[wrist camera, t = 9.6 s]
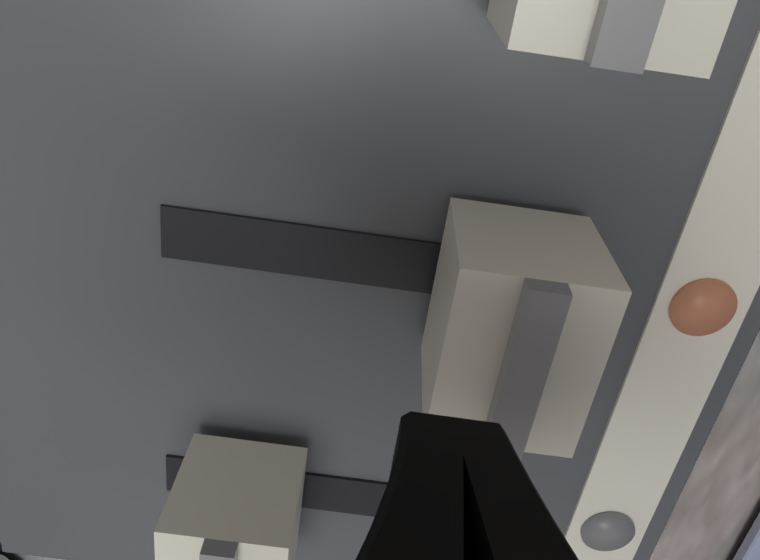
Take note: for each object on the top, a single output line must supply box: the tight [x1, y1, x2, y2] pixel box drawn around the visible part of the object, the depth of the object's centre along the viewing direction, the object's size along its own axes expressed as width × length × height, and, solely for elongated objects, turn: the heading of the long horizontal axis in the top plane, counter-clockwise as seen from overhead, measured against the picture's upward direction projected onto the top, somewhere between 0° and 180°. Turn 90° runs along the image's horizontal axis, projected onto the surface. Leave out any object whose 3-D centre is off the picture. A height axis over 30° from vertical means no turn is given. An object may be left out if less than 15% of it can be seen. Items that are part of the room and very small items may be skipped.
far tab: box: [154, 433, 308, 560], centre depth 16 cm, size 3×4×3 cm
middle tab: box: [421, 197, 632, 461], centre depth 13 cm, size 3×4×3 cm
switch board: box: [0, 0, 760, 560], centre depth 15 cm, size 18×22×1 cm
